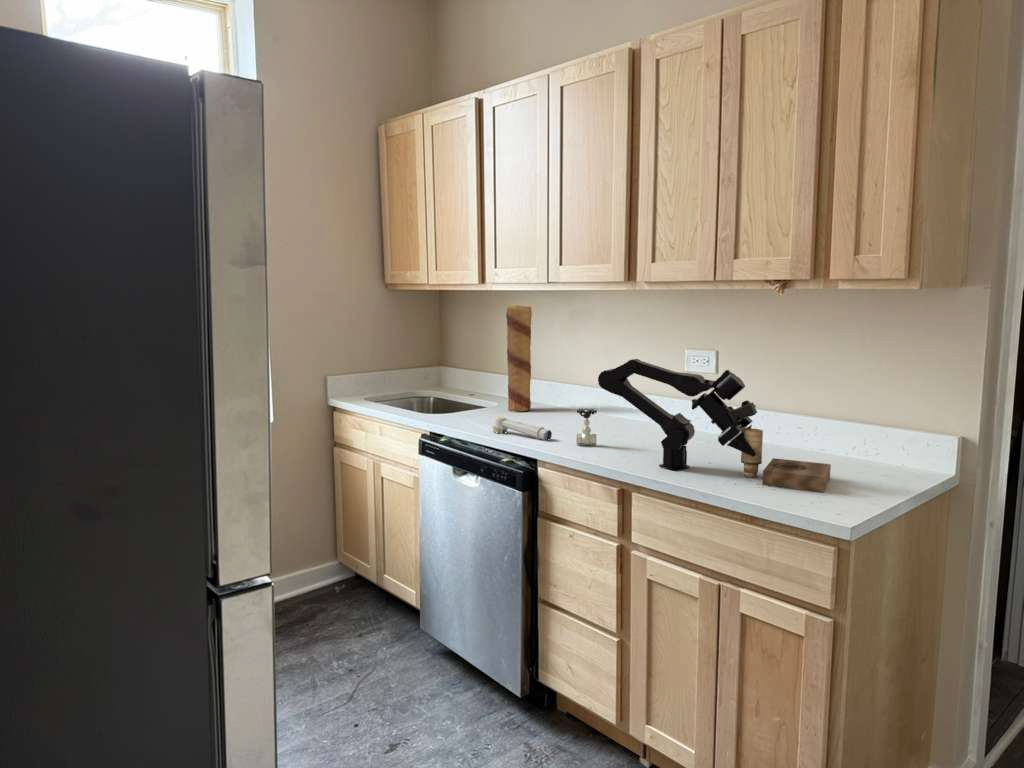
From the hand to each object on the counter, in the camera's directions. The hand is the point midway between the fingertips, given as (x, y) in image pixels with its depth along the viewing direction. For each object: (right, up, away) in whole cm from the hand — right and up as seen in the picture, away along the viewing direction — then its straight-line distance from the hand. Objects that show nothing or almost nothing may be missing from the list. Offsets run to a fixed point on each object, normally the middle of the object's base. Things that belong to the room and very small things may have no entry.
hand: (756, 453), depth 198 cm
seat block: (+9, -7, -4) cm, 12 cm away
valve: (-43, -2, +42) cm, 60 cm away
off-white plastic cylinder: (-64, 0, +58) cm, 87 cm away
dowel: (-1, -7, +1) cm, 7 cm away
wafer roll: (-65, +8, +113) cm, 131 cm away
